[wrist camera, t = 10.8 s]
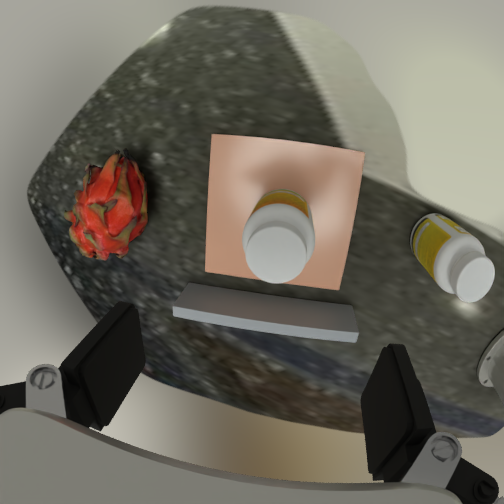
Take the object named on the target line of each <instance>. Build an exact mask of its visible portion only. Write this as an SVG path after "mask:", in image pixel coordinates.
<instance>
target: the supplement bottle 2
mask: <svg viewBox="0 0 504 504" xmlns="http://www.w3.org/2000/svg"><path fill="white" fill-rule="evenodd" d="M410 245H411V249H412V252H413V254H414V255H415V257H416V258H417V260H418V261H419V262H420V263H421V264H422V266H423V267H424V268H425V269H426V270H427V272H428V273H429V274H430V275H431V277H432V278H433V279H434V280H435V282H436V283H437V284H438V285H439V286H440V287H441V288H442V289H443V290H444V291H446V292H448V293H452V294H456V295H457V296H458V298H459V299H460V300H462V301H463V302H466V303H473V302H476V301H478V300H480V299H481V298H482V297H484V296H485V295H486V294H487V292H488V291H489V290H490V288H491V286H492V284H493V281H494V276H495V269H494V265H493V263H492V262H491V260H490V259H488V258H487V257H486V256H485V252H484V248H483V246H482V244H481V243H480V242H479V240H478V239H476V238H475V237H474V236H473V235H471V234H470V233H468V232H467V231H466V230H464V229H463V228H461V227H460V226H459V225H457V224H456V223H454V222H453V221H451V220H450V219H448V218H447V217H445V216H443V215H441V214H437V213H433V214H428V215H426V216H424V217H422V218H421V219H420V220H419V221H418V222H417V223H416V225H415V226H414V228H413V230H412V233H411V237H410Z"/></svg>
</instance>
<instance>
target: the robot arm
mask: <svg viewBox="0 0 504 504" xmlns="http://www.w3.org/2000/svg"><path fill="white" fill-rule="evenodd" d="M144 366H145V353H144V347H143V341H142V335H141V328H140V321H139V313H138V310H137V309H136V308H135V306H134V305H133V304H130V303H126V302H122V301H119V302H118V303H117V304H116V305H115V306H114V307H113V308H112V309H111V310H110V311H109V312H108V313H107V314H106V315H105V316H104V317H103V318H102V319H101V321H100V322H99V323H98V324H97V325H96V326H95V327H94V328H93V329H92V330H91V331H90V332H89V334H88V335H87V336H86V337H85V338H84V339H83V340H82V341H81V342H80V343H79V344H78V345H77V346H76V347H75V349H74V350H73V351H72V352H71V353H70V354H69V355H68V356H67V357H66V359H65V360H64V361H63V362H62V363H61V366H60V367H59V368H57V367H55V366H54V365H50V364H42V365H38V366H36V367H34V368H33V369H31V370H30V371H29V373H28V375H27V377H26V381H25V382H20V383H15V384H10V385H4V386H0V504H504V498H503V497H501V498H499V497H498V493H499V487H498V484H497V482H496V480H495V479H494V478H493V477H492V476H490V475H489V474H487V473H485V472H483V471H482V470H481V469H479V468H477V467H476V466H474V465H472V464H471V463H469V462H468V461H466V460H465V459H463V458H461V454H462V447H461V444H460V442H459V441H458V439H457V438H456V437H455V436H453V435H452V434H449V433H447V432H438V433H436V430H435V426H434V423H433V420H432V416H431V413H430V410H429V407H428V404H427V401H426V398H425V395H424V392H423V389H422V386H421V383H420V381H419V380H418V379H417V377H416V375H415V372H414V369H413V366H412V364H411V361H410V358H409V356H408V353H407V350H406V348H405V346H404V345H403V344H389V345H388V346H387V347H384V348H383V349H382V351H381V354H380V356H379V359H378V361H377V363H376V365H375V368H374V370H373V372H372V374H371V376H370V379H369V381H368V383H367V385H366V387H365V389H364V391H363V393H362V396H361V409H362V417H363V425H364V433H365V441H366V452H367V462H368V471H369V473H371V474H372V475H373V481H377V480H384V483H316V482H300V481H288V480H278V479H269V478H262V477H255V476H248V475H243V474H237V473H231V472H226V471H221V470H216V469H211V468H207V467H203V466H199V465H195V464H191V463H187V462H183V461H179V460H176V459H172V458H169V457H166V456H162V455H159V454H156V453H153V452H149V451H147V450H143V449H141V448H138V447H135V446H132V445H129V444H127V443H124V442H121V441H119V440H116V439H114V438H111V437H108V436H106V435H103V434H101V433H99V432H96V431H94V430H92V429H89V427H92V428H94V429H96V430H99V431H101V430H102V429H103V427H104V426H107V425H109V423H110V422H111V420H112V418H113V417H114V415H115V414H116V412H117V410H118V409H119V407H120V405H121V404H122V402H123V400H124V399H125V397H126V395H127V394H128V392H129V391H130V389H131V387H132V386H133V384H134V382H135V380H136V379H137V378H138V376H139V374H140V373H141V371H142V370H143V368H144ZM477 376H478V379H479V381H480V383H481V384H482V385H484V386H486V387H494V388H495V390H496V392H497V394H498V396H499V398H500V400H501V402H502V404H503V406H504V330H503V331H502V332H501V333H500V334H499V335H498V336H496V338H495V339H494V340H493V341H492V342H491V343H490V345H489V346H488V347H487V349H486V350H485V352H484V354H483V355H482V357H481V360H480V362H479V365H478V368H477Z"/></svg>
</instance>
